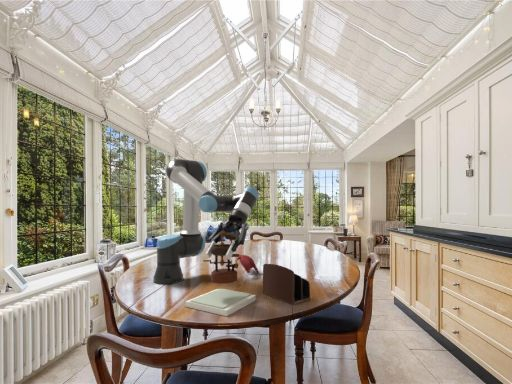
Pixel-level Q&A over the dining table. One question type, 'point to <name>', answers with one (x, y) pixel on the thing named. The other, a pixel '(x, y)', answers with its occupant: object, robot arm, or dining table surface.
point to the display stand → (221, 301)
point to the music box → (223, 274)
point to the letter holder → (285, 284)
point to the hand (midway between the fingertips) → (217, 256)
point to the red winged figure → (247, 263)
